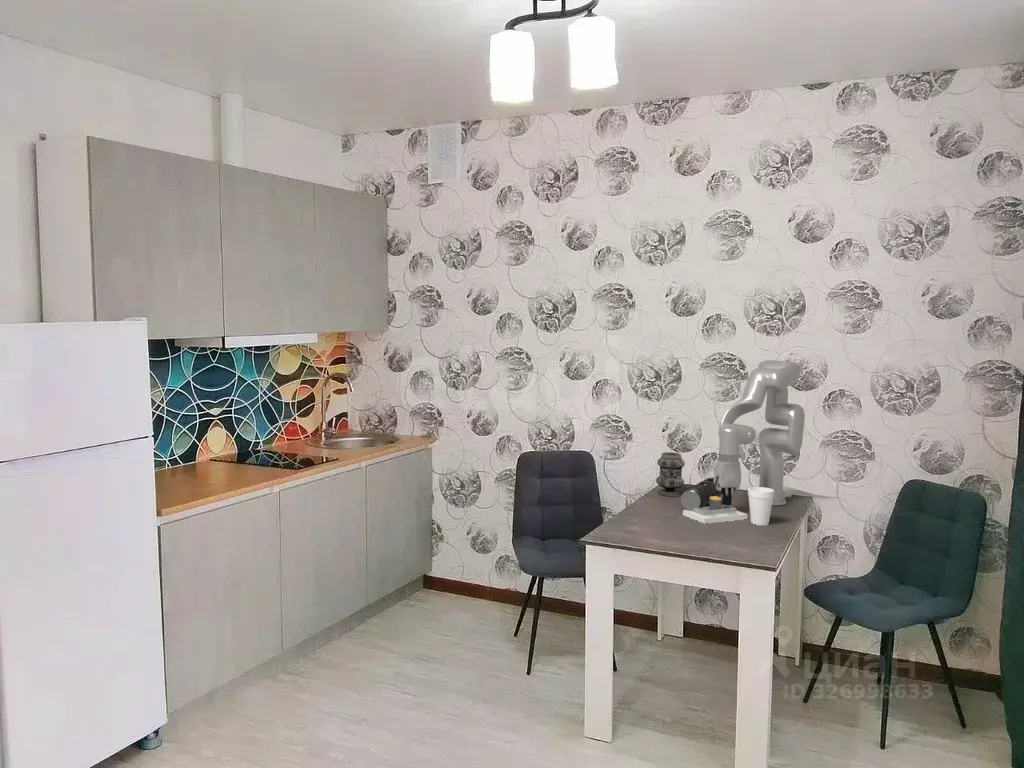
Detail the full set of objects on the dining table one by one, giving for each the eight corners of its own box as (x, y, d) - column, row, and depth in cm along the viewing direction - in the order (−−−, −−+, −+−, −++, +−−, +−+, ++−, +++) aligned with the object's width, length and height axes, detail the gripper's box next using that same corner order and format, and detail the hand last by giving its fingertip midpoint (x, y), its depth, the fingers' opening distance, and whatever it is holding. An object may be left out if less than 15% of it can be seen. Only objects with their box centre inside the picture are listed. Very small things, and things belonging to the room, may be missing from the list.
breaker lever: (715, 510, 314) (716, 496, 313) (720, 512, 311) (721, 497, 310) (709, 511, 313) (709, 496, 312) (714, 513, 309) (715, 498, 309)
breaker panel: (724, 511, 322) (725, 502, 322) (747, 519, 309) (747, 510, 309) (682, 515, 314) (683, 506, 314) (704, 523, 301) (704, 514, 301)
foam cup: (772, 521, 307) (773, 487, 306) (773, 527, 298) (774, 493, 297) (746, 519, 309) (747, 486, 308) (746, 525, 300) (748, 491, 299)
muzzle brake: (723, 502, 334) (724, 477, 334) (702, 516, 311) (702, 489, 310) (701, 499, 339) (701, 475, 339) (678, 513, 316) (678, 487, 315)
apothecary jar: (686, 497, 346) (688, 456, 344) (658, 497, 345) (660, 455, 344) (680, 491, 358) (681, 451, 356) (653, 490, 357) (654, 451, 356)
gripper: (738, 455, 318) (736, 501, 320) (707, 457, 312) (705, 504, 314) (750, 458, 311) (748, 505, 313) (718, 461, 306) (717, 508, 307)
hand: (727, 504), depth 313 cm, fingers closed
